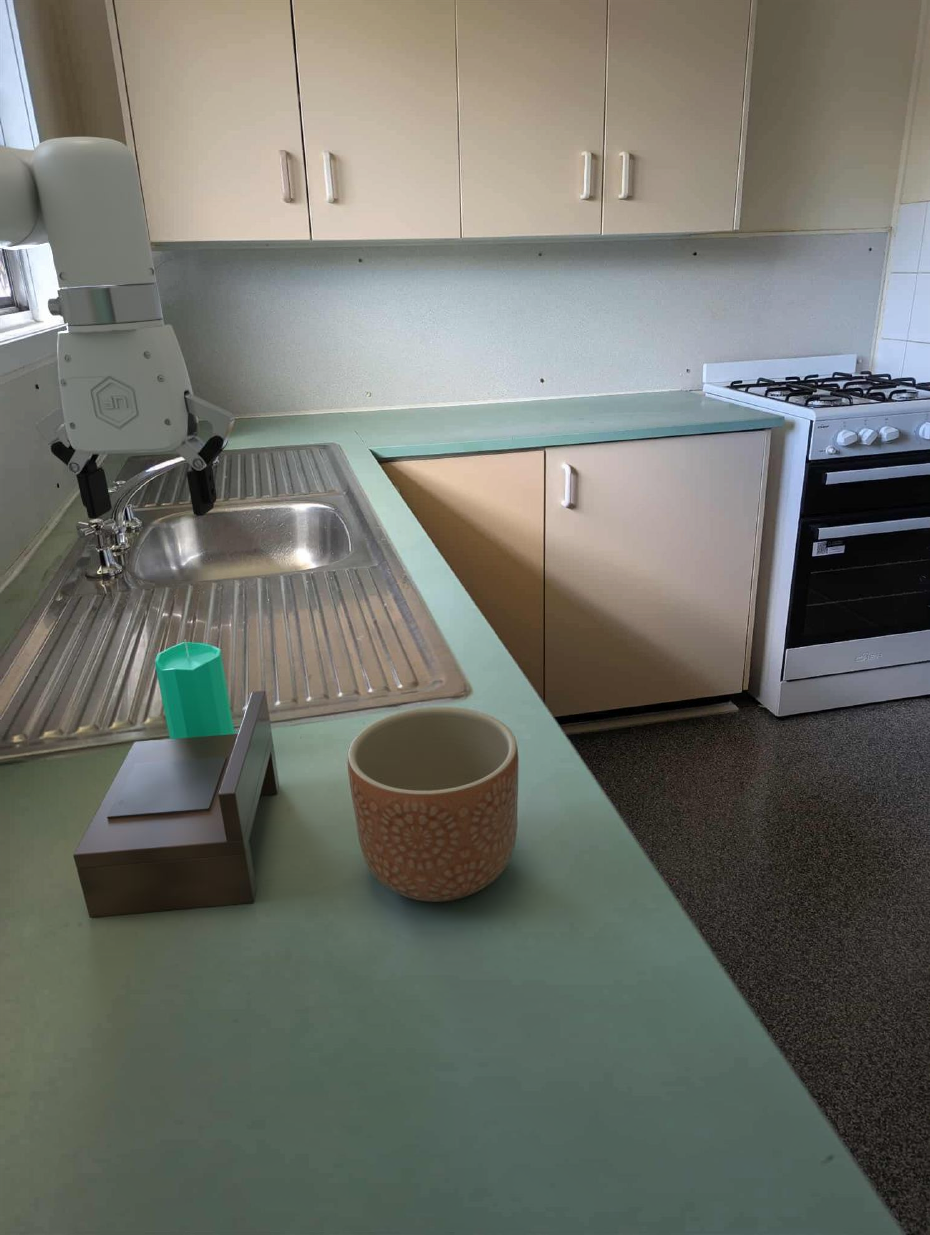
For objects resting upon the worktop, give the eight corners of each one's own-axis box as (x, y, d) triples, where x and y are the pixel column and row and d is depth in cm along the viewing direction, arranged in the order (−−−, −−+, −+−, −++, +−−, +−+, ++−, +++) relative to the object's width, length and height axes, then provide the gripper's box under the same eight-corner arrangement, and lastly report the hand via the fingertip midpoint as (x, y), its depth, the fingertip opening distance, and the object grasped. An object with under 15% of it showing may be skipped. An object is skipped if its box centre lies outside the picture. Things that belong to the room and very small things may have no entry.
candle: (170, 745, 87) (148, 635, 83) (231, 731, 89) (213, 622, 85) (177, 774, 82) (154, 658, 77) (241, 758, 84) (223, 644, 80)
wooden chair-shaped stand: (89, 917, 64) (60, 807, 60) (145, 795, 79) (125, 701, 75) (254, 903, 65) (235, 793, 61) (279, 784, 80) (265, 690, 76)
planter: (461, 803, 75) (455, 690, 71) (554, 878, 66) (553, 752, 62) (332, 860, 69) (317, 739, 65) (414, 951, 59) (402, 817, 55)
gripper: (-14, 318, 69) (38, 527, 75) (198, 307, 67) (232, 522, 74) (38, 312, 76) (81, 504, 82) (231, 302, 74) (259, 500, 80)
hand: (152, 513), depth 78 cm, fingers open, 9 cm apart
